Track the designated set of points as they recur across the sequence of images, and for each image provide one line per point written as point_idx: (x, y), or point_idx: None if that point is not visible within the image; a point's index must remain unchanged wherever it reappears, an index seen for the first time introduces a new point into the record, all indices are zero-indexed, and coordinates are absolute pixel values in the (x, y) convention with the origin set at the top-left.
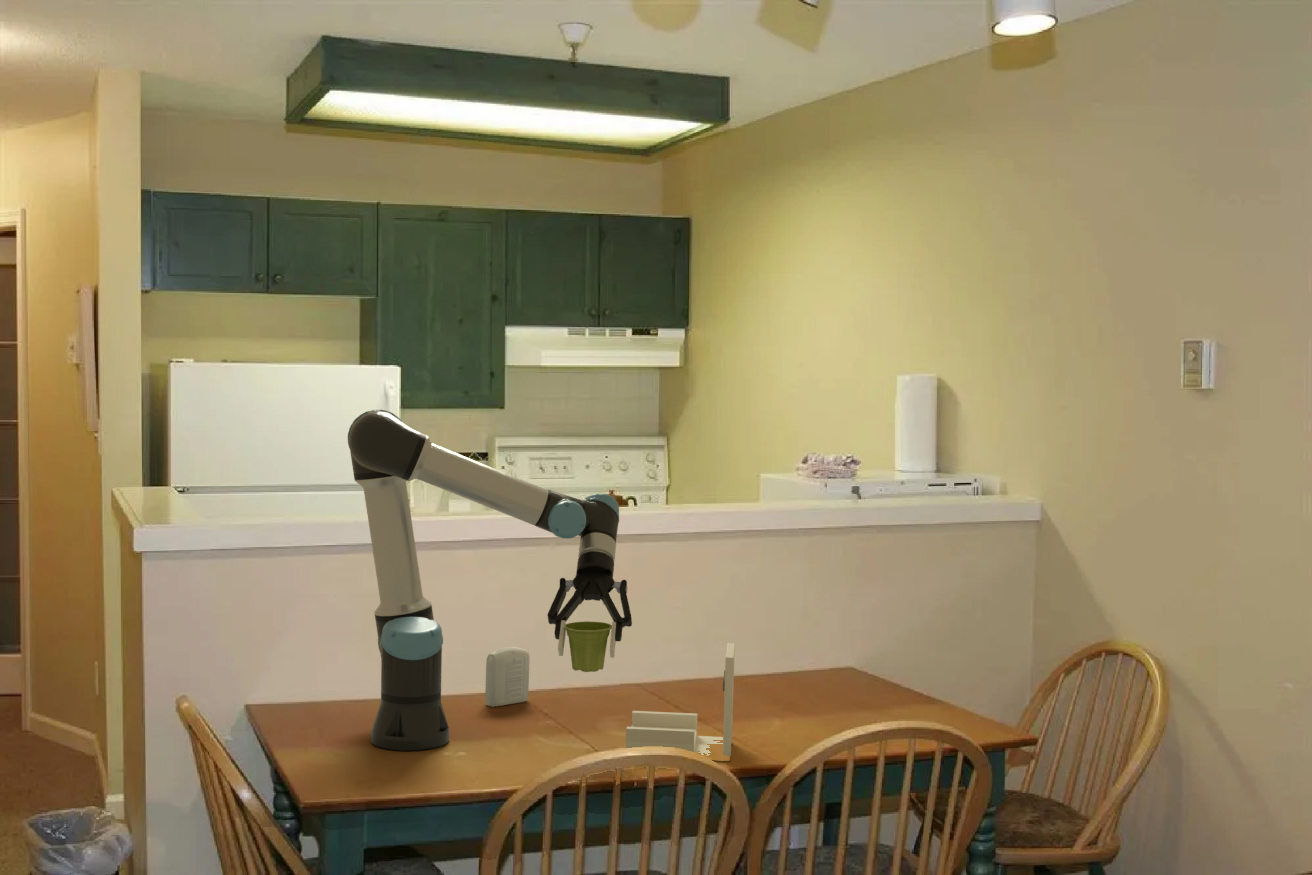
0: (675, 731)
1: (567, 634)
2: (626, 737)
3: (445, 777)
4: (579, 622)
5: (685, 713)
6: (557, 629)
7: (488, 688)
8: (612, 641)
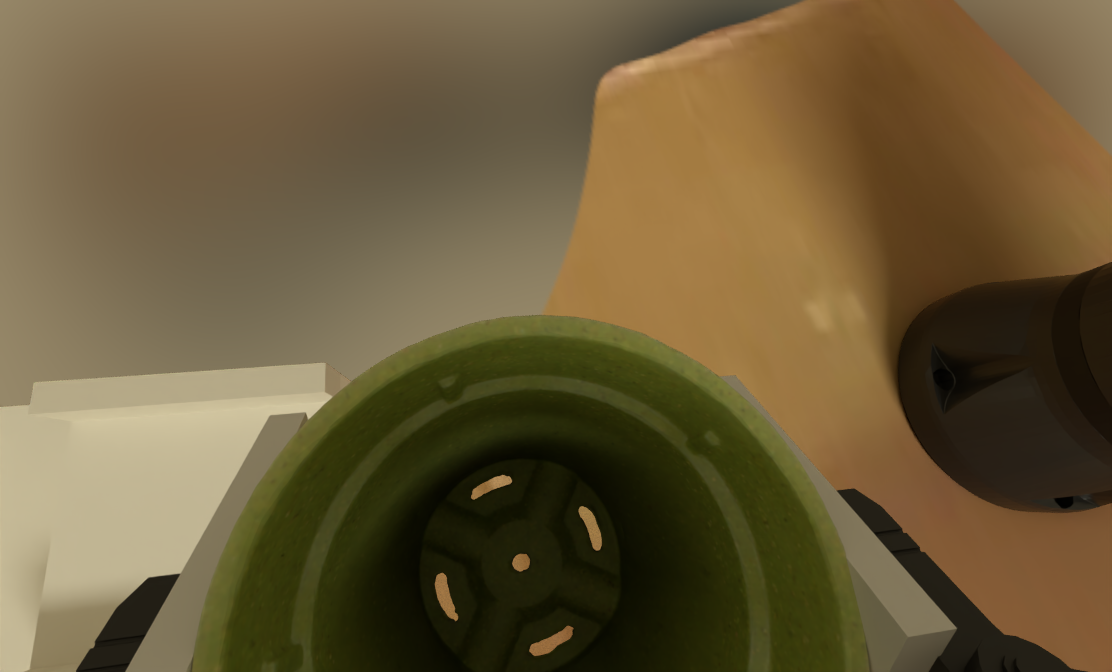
0: (120, 378)
1: (743, 498)
2: (334, 370)
3: (764, 125)
4: None
5: None
6: (889, 545)
7: None
8: (253, 477)
